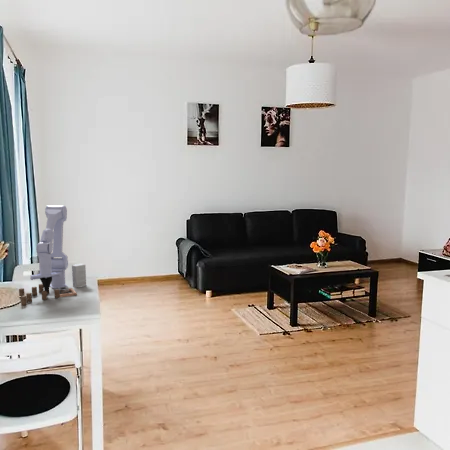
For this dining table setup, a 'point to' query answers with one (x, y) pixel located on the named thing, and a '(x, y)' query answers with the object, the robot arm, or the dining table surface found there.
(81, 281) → the skincare box
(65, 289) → the steel nut
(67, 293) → the parts bay
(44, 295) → the walnut spacers
